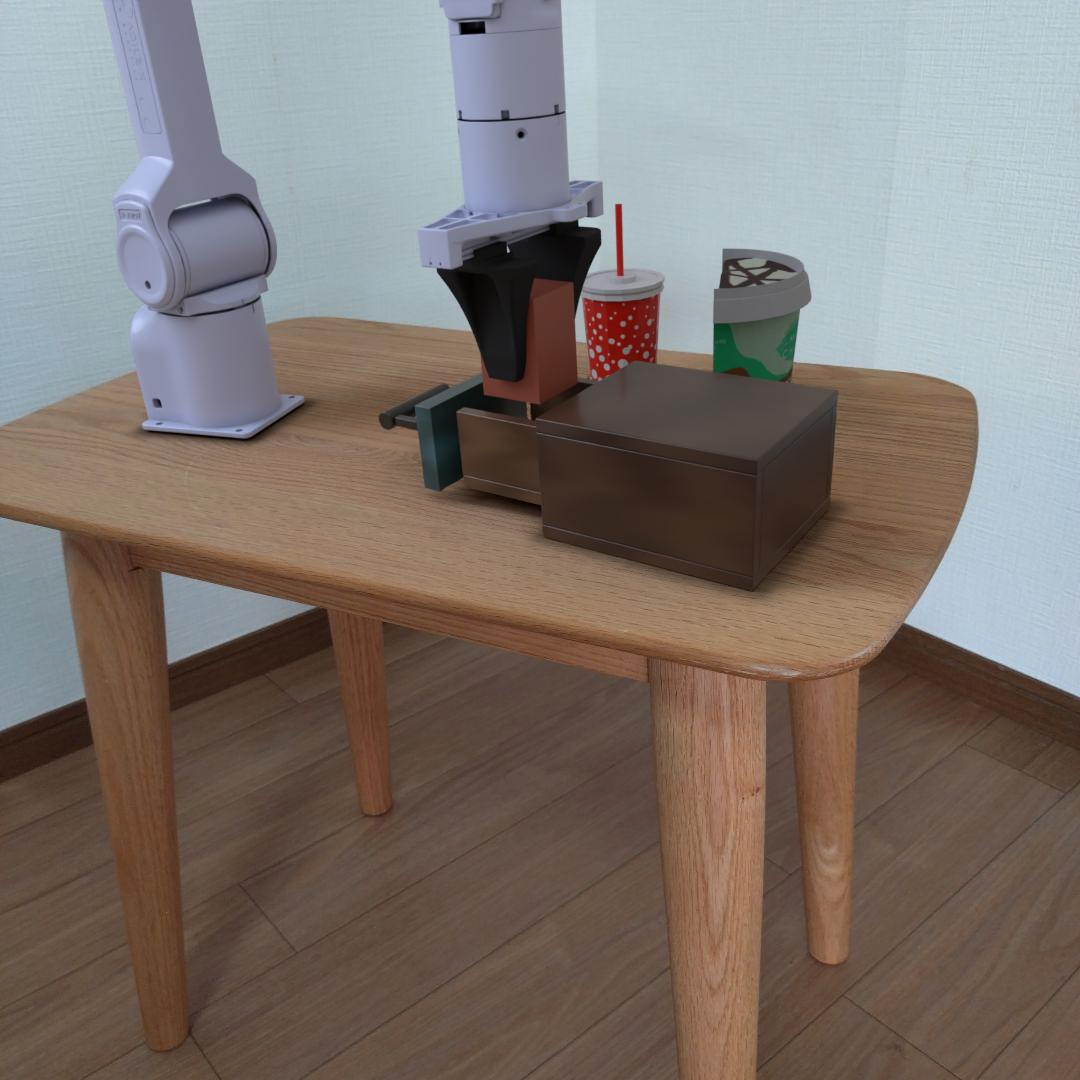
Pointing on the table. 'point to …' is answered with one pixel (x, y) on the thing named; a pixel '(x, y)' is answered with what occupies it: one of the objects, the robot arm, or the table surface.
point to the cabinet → (688, 469)
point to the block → (544, 347)
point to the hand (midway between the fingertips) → (528, 366)
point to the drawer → (477, 437)
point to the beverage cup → (621, 313)
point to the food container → (758, 313)
